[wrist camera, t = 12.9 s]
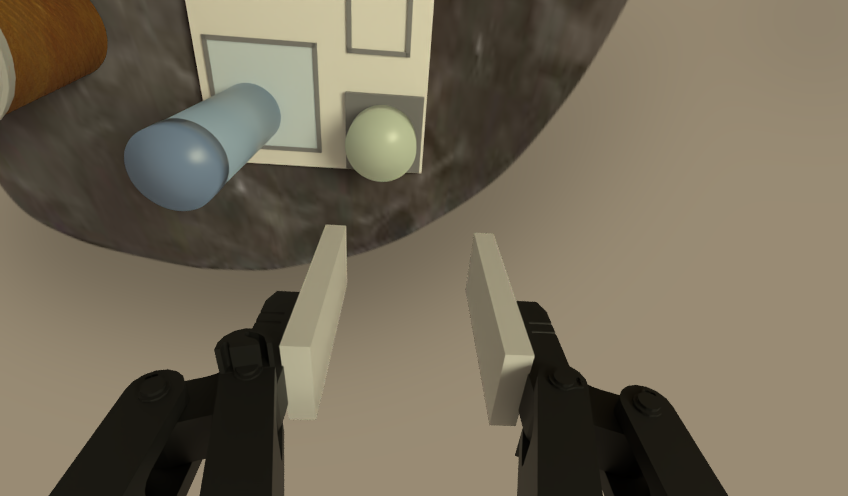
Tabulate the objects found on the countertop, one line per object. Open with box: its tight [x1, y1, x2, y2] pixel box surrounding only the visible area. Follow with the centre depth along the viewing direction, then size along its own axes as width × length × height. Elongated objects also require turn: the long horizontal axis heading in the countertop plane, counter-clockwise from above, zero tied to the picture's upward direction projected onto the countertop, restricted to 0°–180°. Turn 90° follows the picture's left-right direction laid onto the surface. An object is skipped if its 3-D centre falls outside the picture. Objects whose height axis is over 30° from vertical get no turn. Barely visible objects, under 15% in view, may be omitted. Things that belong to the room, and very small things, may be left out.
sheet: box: [185, 0, 434, 173], centre depth 30 cm, size 14×16×1 cm
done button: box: [345, 105, 416, 182], centre depth 30 cm, size 5×5×2 cm
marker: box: [124, 83, 281, 211], centre depth 26 cm, size 4×4×12 cm
